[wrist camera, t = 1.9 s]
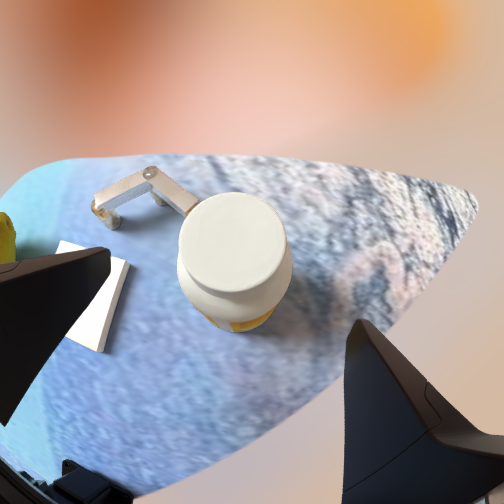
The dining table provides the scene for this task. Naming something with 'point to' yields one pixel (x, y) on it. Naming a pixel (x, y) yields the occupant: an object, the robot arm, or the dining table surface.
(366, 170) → the dining table surface
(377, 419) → the robot arm
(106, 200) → the bent steel bracket
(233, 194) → the supplement bottle
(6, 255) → the lemon
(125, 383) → the dining table surface
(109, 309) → the cream coaster
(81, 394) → the dining table surface
